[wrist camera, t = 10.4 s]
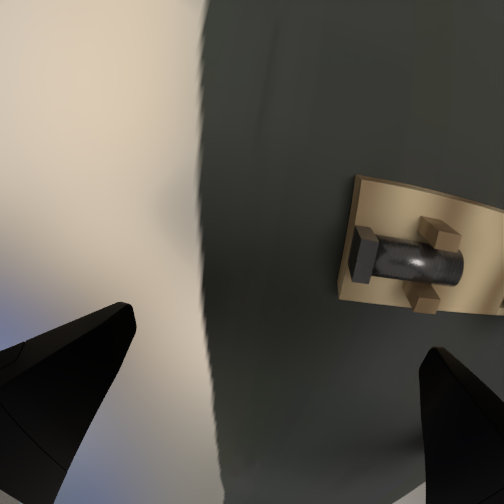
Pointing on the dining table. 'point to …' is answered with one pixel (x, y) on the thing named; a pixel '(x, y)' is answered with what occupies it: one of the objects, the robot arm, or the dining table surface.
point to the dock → (440, 237)
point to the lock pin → (401, 260)
